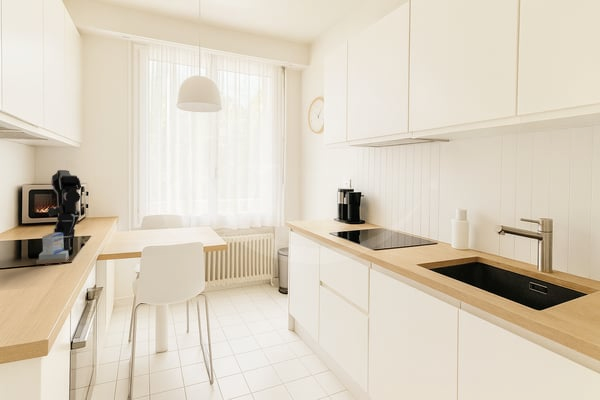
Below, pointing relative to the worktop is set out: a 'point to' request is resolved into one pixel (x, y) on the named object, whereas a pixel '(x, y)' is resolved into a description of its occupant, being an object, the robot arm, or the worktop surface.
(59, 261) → the tower base
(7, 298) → the worktop surface
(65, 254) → the tower top
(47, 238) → the medicine box
